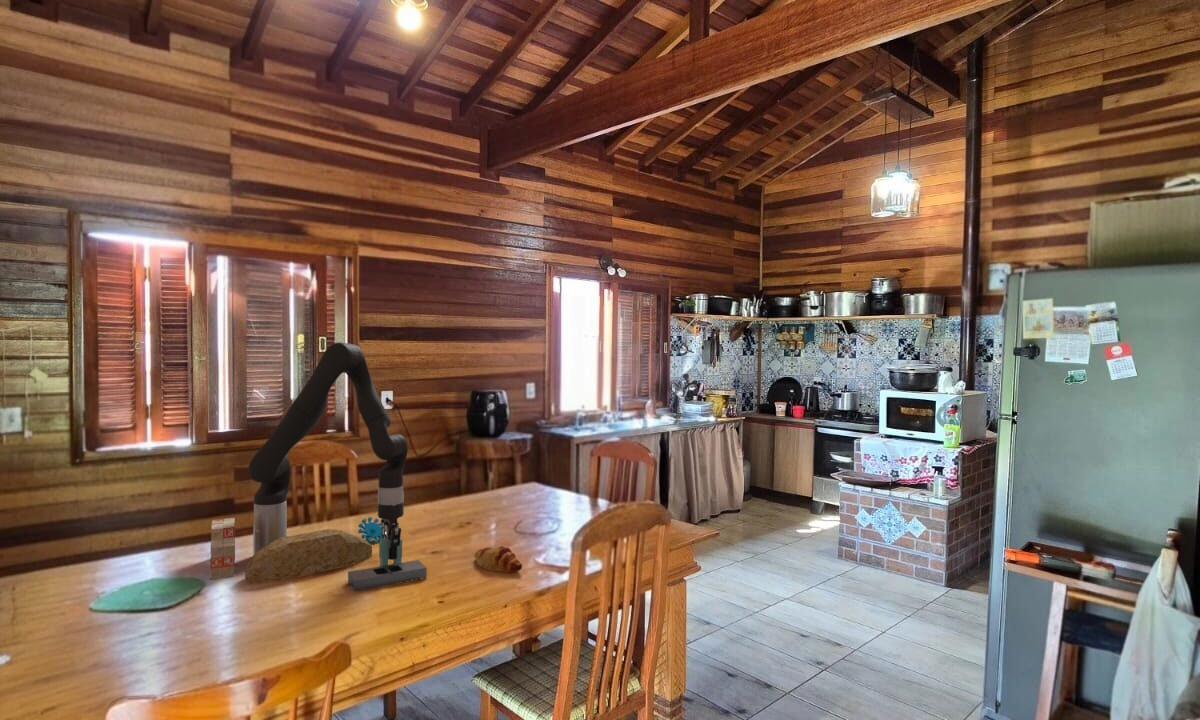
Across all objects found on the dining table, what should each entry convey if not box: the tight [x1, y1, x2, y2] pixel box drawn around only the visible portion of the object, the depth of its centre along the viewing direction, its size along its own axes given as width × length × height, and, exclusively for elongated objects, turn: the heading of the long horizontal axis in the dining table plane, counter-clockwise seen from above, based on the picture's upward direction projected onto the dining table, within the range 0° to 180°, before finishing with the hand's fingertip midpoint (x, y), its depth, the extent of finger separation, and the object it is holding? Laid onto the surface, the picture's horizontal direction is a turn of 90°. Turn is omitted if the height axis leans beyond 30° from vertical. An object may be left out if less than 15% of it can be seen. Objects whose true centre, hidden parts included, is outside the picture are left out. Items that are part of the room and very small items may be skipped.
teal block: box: [378, 537, 403, 567], centre depth 203 cm, size 6×3×8 cm, turn 122°
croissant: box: [474, 545, 523, 573], centre depth 203 cm, size 21×10×8 cm, turn 50°
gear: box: [358, 516, 382, 544], centre depth 229 cm, size 11×6×10 cm
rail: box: [347, 559, 428, 592], centre depth 190 cm, size 20×8×3 cm, turn 122°
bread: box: [244, 528, 373, 584], centre depth 200 cm, size 36×11×10 cm, turn 133°
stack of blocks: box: [209, 517, 236, 580], centre depth 200 cm, size 21×6×12 cm, turn 29°
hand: (390, 556), depth 203 cm, fingers open, 4 cm apart
